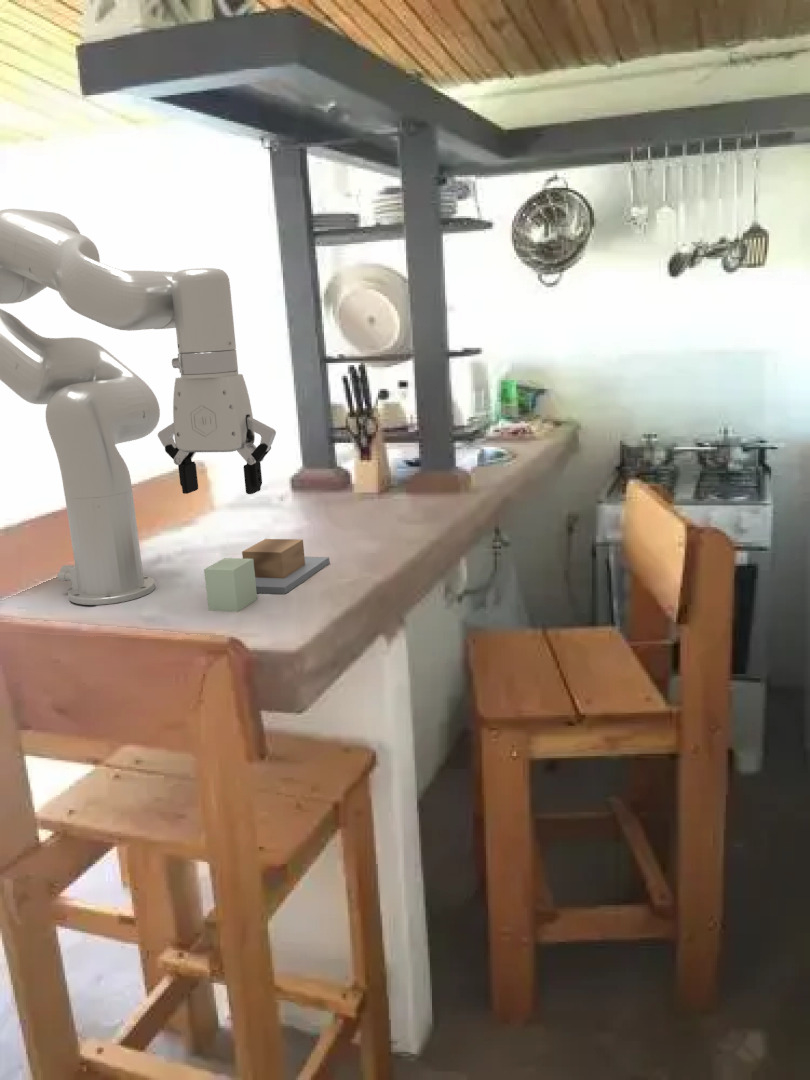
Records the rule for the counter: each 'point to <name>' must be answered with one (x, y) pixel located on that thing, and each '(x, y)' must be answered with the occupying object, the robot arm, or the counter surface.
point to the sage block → (230, 584)
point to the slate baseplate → (291, 577)
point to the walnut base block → (276, 557)
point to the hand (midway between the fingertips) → (221, 492)
